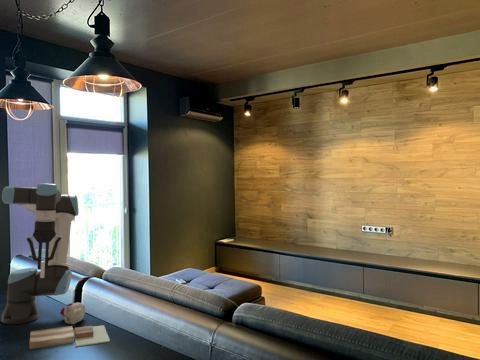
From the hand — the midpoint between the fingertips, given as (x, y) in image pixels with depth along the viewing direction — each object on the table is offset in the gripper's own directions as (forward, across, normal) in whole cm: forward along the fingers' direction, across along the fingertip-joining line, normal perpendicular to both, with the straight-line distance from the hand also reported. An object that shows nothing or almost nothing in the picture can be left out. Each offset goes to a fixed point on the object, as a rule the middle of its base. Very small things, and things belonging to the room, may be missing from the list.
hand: (42, 277), depth 149 cm
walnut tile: (+26, +17, -1) cm, 31 cm away
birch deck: (+26, +5, -1) cm, 27 cm away
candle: (+27, +14, +18) cm, 35 cm away
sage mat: (+26, +20, -3) cm, 33 cm away
